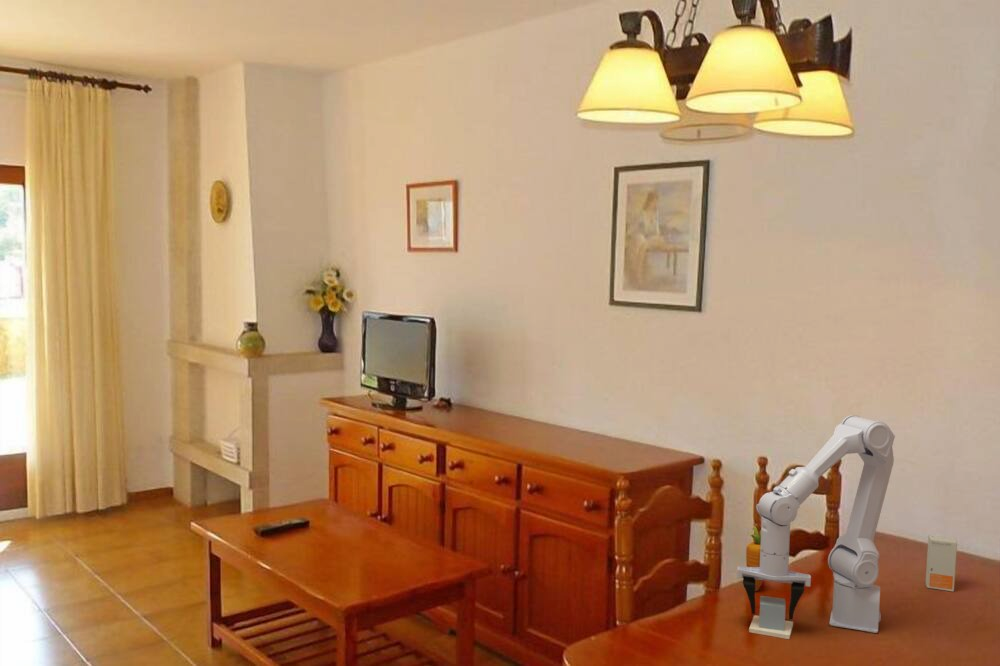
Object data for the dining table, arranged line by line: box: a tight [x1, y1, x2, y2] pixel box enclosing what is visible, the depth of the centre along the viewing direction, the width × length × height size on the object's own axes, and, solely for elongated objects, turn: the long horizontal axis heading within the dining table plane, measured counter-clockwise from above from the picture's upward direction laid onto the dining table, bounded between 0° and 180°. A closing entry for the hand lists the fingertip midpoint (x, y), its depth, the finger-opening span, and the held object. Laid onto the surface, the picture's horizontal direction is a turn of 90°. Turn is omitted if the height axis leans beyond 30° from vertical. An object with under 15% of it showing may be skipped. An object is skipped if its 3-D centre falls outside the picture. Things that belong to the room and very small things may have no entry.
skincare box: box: [925, 535, 958, 593], centre depth 213 cm, size 6×4×12 cm
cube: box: [759, 595, 786, 631], centre depth 185 cm, size 5×5×5 cm
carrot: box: [745, 526, 764, 592], centre depth 208 cm, size 5×5×15 cm
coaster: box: [748, 614, 794, 640], centre depth 185 cm, size 8×8×1 cm
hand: (771, 615), depth 185 cm, fingers open, 7 cm apart
